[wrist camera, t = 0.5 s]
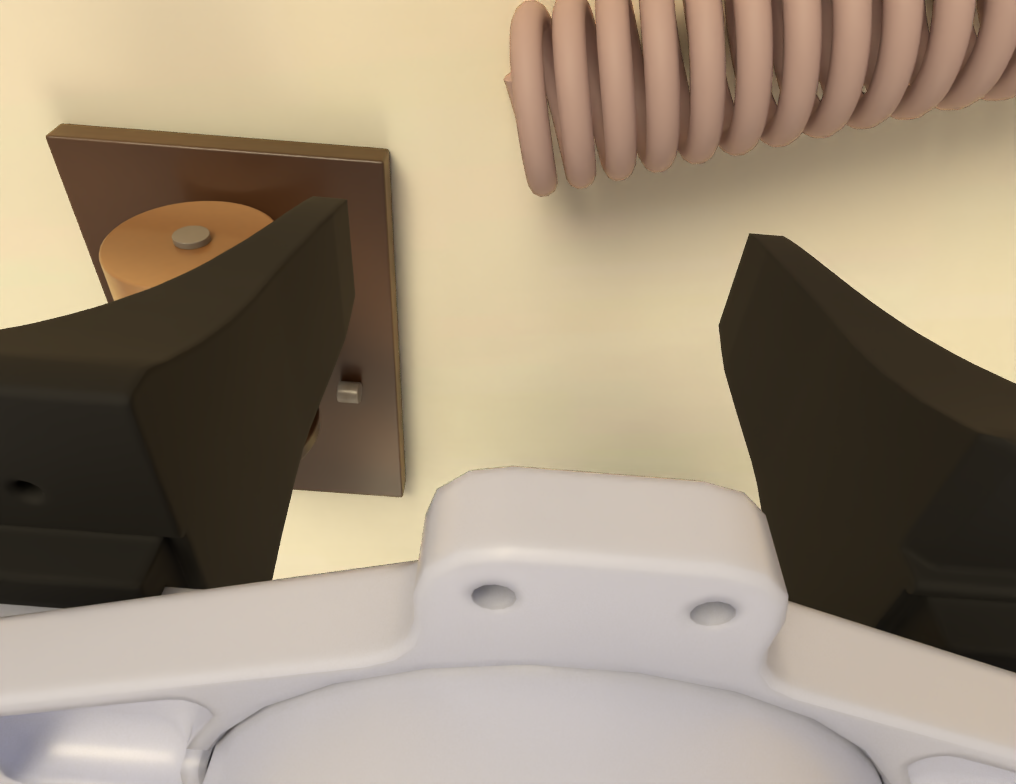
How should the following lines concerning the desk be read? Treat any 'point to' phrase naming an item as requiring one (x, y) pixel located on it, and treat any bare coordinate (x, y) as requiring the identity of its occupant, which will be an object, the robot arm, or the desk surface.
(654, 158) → the pink hollow tube
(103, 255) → the battery
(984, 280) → the desk surface
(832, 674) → the robot arm
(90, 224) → the base board
